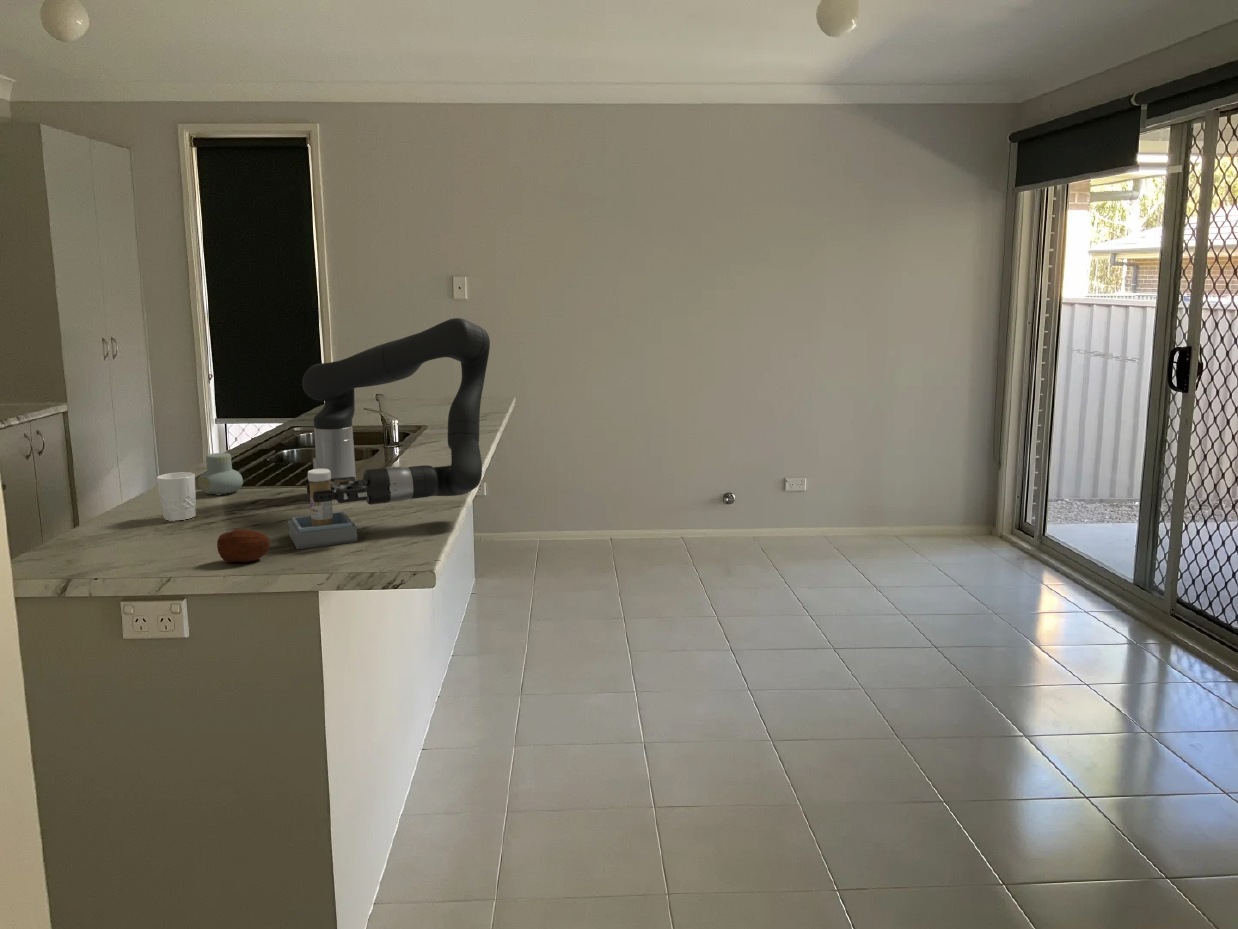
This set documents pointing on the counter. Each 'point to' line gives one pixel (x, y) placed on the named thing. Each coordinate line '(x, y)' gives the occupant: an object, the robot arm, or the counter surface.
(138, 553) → the counter surface
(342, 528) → the blue square tray
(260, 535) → the potato
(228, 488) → the air freshener
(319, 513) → the sprinkles bottle
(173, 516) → the white cup
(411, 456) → the counter surface
